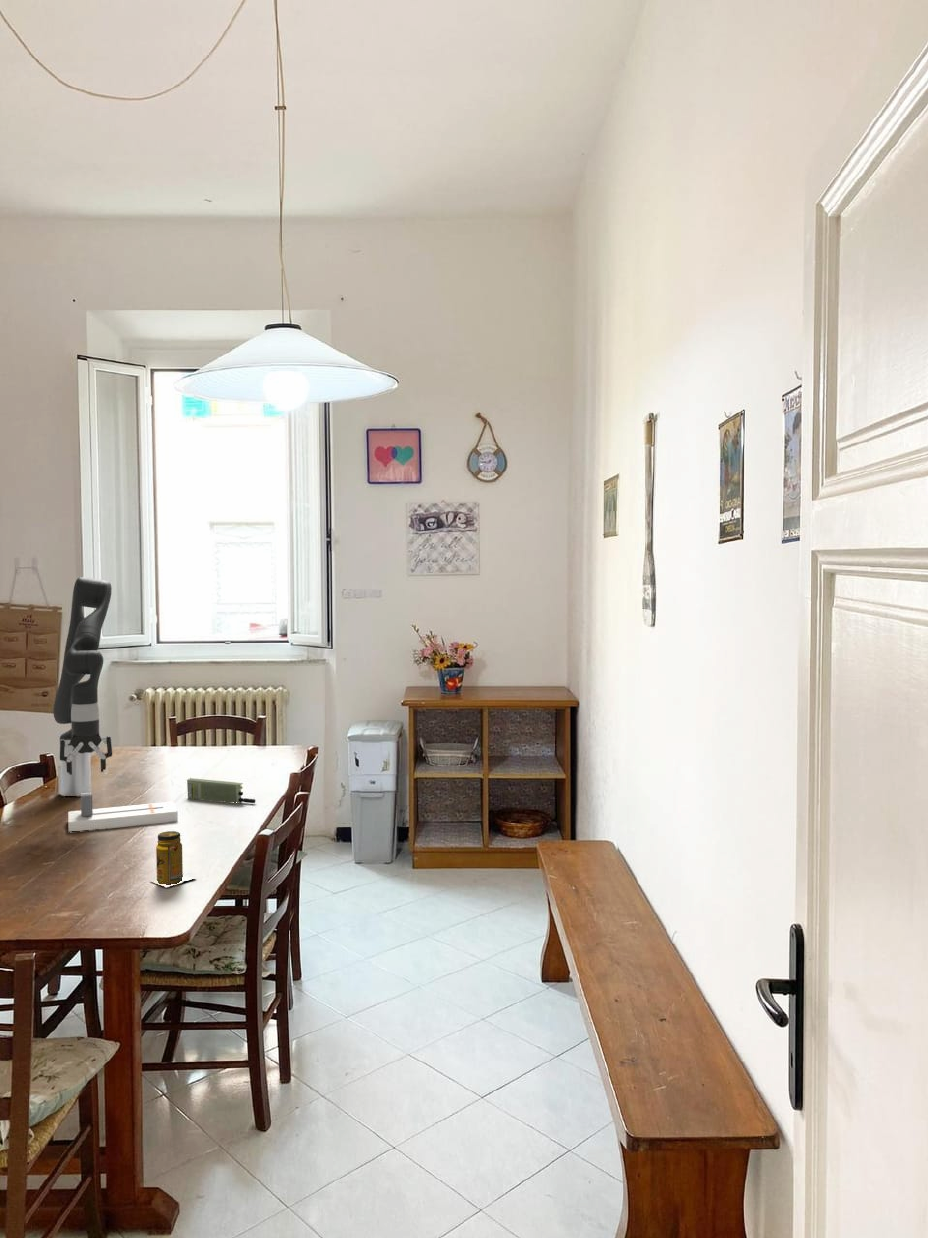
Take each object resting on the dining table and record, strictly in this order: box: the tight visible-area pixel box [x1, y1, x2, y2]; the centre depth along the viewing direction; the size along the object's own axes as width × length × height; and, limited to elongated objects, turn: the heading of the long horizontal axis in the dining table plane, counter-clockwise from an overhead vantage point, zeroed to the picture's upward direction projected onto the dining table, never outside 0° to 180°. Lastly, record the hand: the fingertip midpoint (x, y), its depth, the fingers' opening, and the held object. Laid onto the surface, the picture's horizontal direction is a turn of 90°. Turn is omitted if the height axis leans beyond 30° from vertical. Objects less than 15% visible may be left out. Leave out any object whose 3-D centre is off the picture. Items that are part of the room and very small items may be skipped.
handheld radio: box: [186, 777, 256, 804], centre depth 293 cm, size 7×3×25 cm
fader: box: [80, 790, 93, 816], centre depth 265 cm, size 3×5×6 cm, turn 24°
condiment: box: [155, 830, 184, 885], centre depth 220 cm, size 7×8×12 cm
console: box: [67, 801, 179, 832], centre depth 270 cm, size 30×12×3 cm, turn 114°
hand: (86, 772), depth 265 cm, fingers open, 8 cm apart
